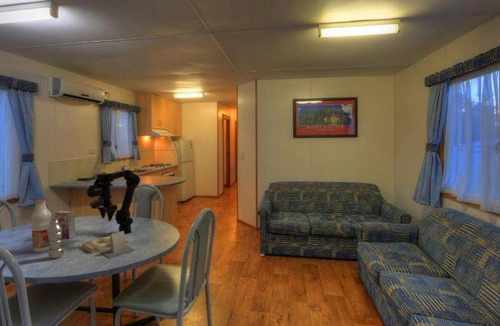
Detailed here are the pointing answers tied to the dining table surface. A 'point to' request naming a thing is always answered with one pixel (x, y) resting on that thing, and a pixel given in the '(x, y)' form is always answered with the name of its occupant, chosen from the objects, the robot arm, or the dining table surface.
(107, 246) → the holder
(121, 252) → the mat
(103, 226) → the dining table surface
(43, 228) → the fruit juice
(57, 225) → the plastic bottle
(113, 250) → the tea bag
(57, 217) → the candy bar box
